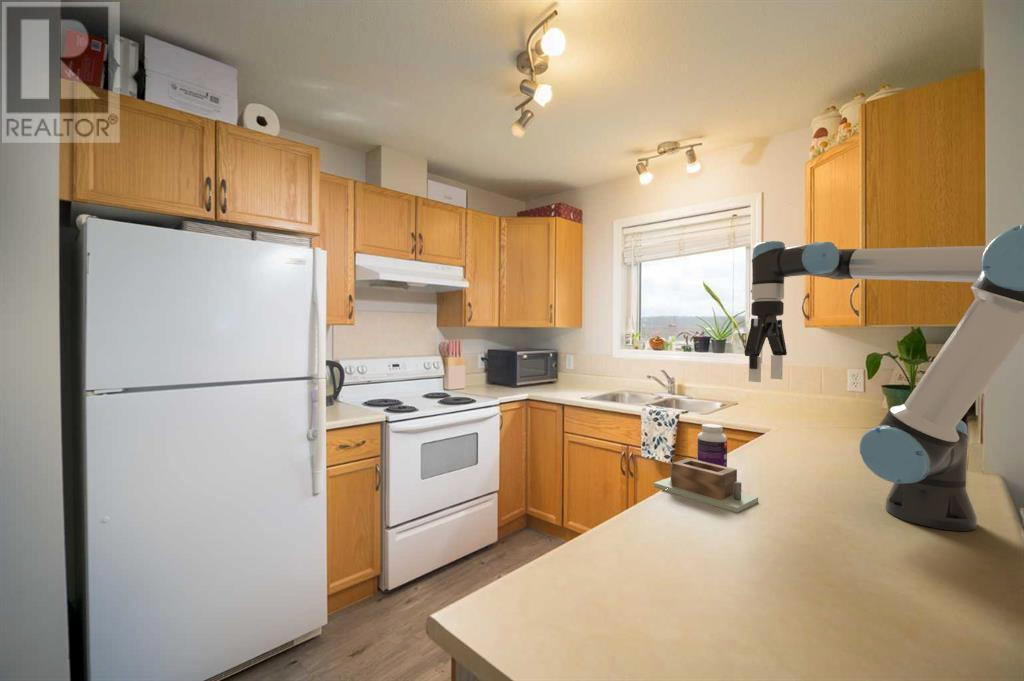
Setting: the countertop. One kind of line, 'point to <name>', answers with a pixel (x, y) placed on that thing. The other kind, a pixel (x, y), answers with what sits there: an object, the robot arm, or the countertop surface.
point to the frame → (704, 478)
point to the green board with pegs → (730, 503)
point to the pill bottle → (712, 445)
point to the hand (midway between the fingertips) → (765, 380)
